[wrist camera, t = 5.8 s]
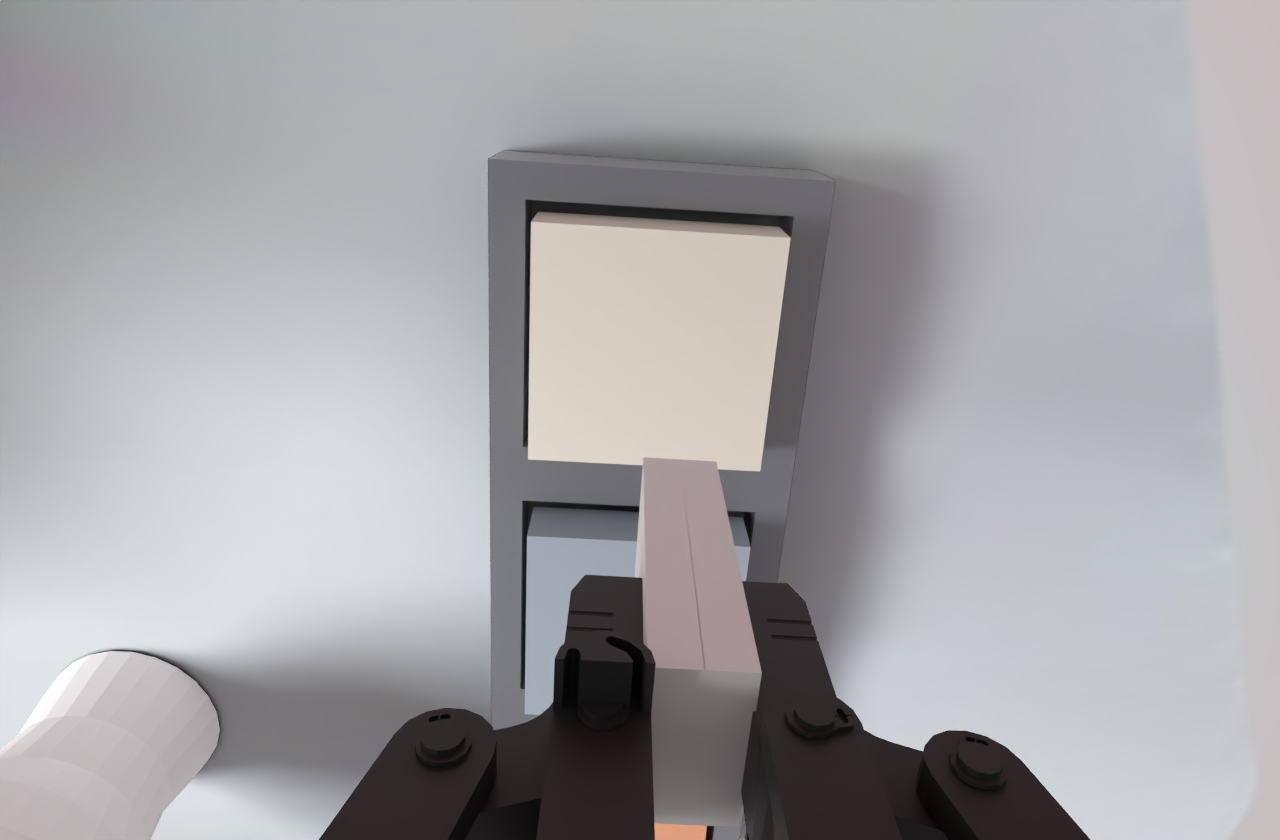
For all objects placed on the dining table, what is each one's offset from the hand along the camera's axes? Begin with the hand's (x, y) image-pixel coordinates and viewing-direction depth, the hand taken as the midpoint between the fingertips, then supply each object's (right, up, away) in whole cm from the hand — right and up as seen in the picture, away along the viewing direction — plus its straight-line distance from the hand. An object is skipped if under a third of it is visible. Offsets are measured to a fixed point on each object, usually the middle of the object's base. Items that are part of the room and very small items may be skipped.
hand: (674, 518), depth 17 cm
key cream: (0, +5, +12) cm, 13 cm away
